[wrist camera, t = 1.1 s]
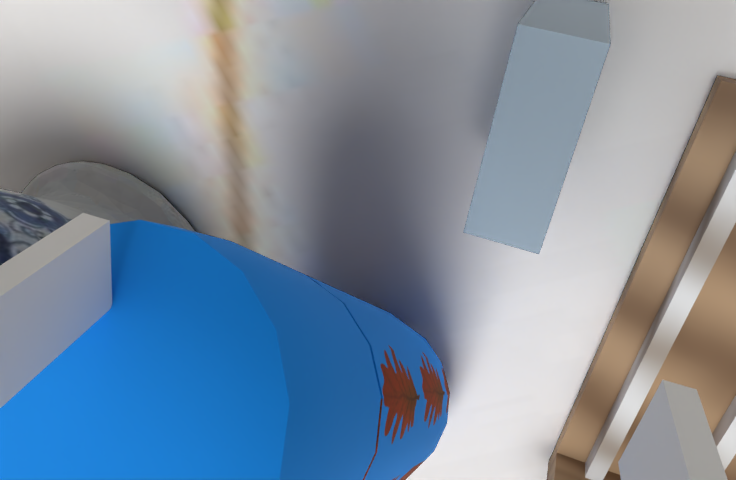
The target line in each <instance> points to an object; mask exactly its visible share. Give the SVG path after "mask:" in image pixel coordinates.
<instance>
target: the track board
mask: <svg viewBox="0 0 736 480" xmlns="http://www.w3.org/2000/svg"><path fill="white" fill-rule="evenodd" d="M662 380H665V381H669V382H672V383H676V384H679V385H683V386H686V387H690V388H693V389H697V392H698V395H699V398H700V400H701V403H702V406H703V409H704V412H705V415H706V418H707V421H708V424H709V427H710V430H711V433H712V436H713V438H714V441H715V444H716V447H717V450H718V453H719V456H720V459H721V462H722V465H723V468H724V471H725V474H726V476H727V479H728V480H736V79H731V78H727V77H722V76H718V75H717V78H716V80H715V82H714V85H713V87H712V89H711V91H710V94H709V96H708V98H707V101H706V103H705V105H704V107H703V110H702V112H701V114H700V117H699V119H698V121H697V123H696V126H695V128H694V130H693V133H692V135H691V137H690V139H689V142H688V144H687V146H686V149H685V151H684V153H683V156H682V158H681V160H680V162H679V165H678V167H677V169H676V172H675V174H674V176H673V178H672V181H671V183H670V185H669V188H668V190H667V192H666V194H665V197H664V199H663V201H662V204H661V206H660V208H659V210H658V213H657V215H656V217H655V220H654V222H653V224H652V226H651V229H650V231H649V233H648V236H647V238H646V240H645V242H644V245H643V247H642V249H641V252H640V254H639V256H638V259H637V261H636V263H635V265H634V268H633V270H632V272H631V275H630V277H629V279H628V281H627V284H626V286H625V288H624V291H623V293H622V295H621V297H620V300H619V302H618V304H617V307H616V309H615V311H614V313H613V316H612V318H611V320H610V323H609V325H608V327H607V329H606V332H605V334H604V336H603V339H602V341H601V343H600V345H599V348H598V350H597V352H596V355H595V357H594V359H593V362H592V364H591V366H590V368H589V371H588V373H587V375H586V378H585V380H584V382H583V384H582V387H581V389H580V391H579V394H578V396H577V398H576V400H575V403H574V405H573V407H572V410H571V412H570V414H569V416H568V419H567V421H566V423H565V426H564V428H563V430H562V432H561V435H560V437H559V439H558V442H557V444H556V446H555V448H554V451H553V453H552V455H551V458H550V460H549V463H548V473H547V480H621V478H620V471H619V464H618V462H619V460H620V458H621V456H622V454H623V453H624V451H625V449H626V447H627V445H628V443H629V441H630V439H631V438H632V436H633V434H634V432H635V430H636V428H637V426H638V425H639V423H640V421H641V419H642V417H643V415H644V413H645V411H646V410H647V408H648V406H649V404H650V402H651V400H652V398H653V396H654V395H655V393H656V391H657V389H658V387H659V385H660V383H661V381H662Z"/></svg>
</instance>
